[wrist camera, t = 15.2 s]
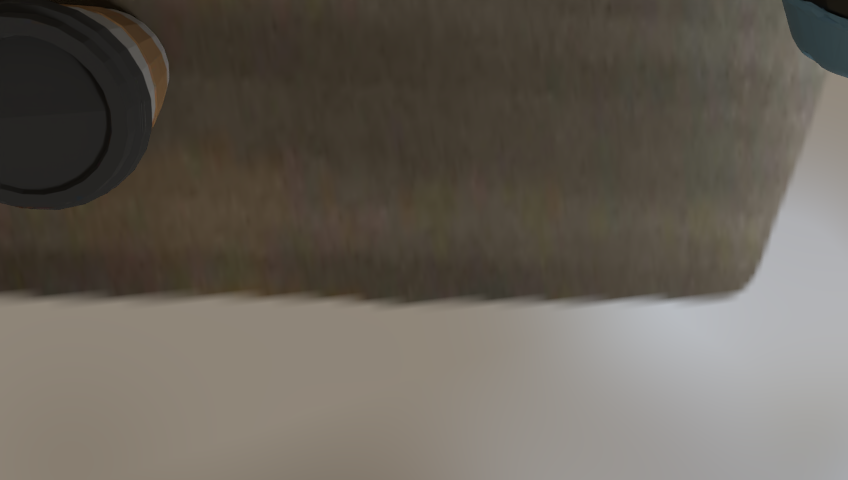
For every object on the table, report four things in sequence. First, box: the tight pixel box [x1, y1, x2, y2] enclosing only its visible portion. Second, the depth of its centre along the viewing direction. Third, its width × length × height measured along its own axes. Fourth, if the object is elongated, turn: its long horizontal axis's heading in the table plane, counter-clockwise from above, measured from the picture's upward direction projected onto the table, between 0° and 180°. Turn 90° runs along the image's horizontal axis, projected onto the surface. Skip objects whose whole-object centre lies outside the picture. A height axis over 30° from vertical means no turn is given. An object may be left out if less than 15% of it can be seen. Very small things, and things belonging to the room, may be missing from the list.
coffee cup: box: [0, 0, 169, 210], centre depth 33 cm, size 8×8×15 cm
